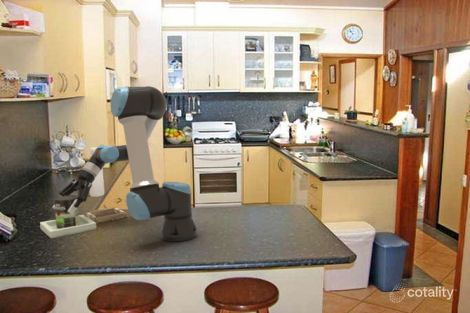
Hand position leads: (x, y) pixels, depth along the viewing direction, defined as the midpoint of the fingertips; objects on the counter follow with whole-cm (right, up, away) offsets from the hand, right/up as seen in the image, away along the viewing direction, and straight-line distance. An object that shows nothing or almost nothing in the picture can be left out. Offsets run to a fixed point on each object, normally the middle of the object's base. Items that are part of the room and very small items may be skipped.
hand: (62, 211), depth 209 cm
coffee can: (+2, -8, +3) cm, 9 cm away
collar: (+14, -6, +21) cm, 26 cm away
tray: (+2, -9, +3) cm, 9 cm away
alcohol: (-6, 0, +75) cm, 75 cm away
